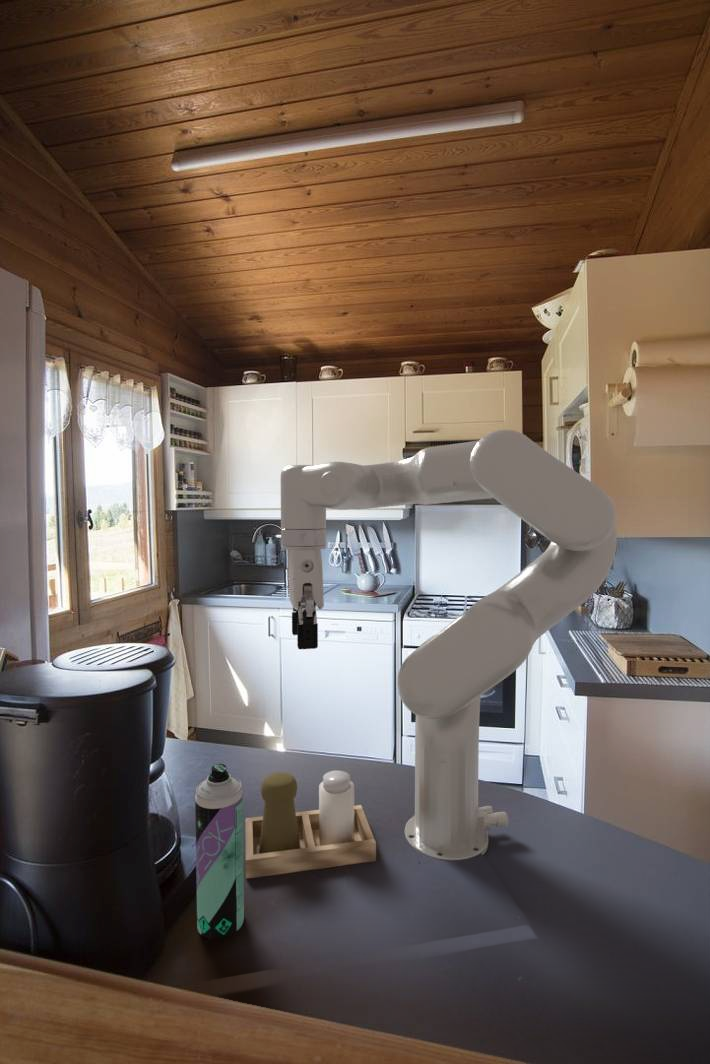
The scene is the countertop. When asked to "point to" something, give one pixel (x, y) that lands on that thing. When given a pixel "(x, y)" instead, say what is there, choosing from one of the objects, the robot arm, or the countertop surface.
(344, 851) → the caddy
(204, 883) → the spray can
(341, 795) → the salt shaker
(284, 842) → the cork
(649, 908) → the countertop surface
